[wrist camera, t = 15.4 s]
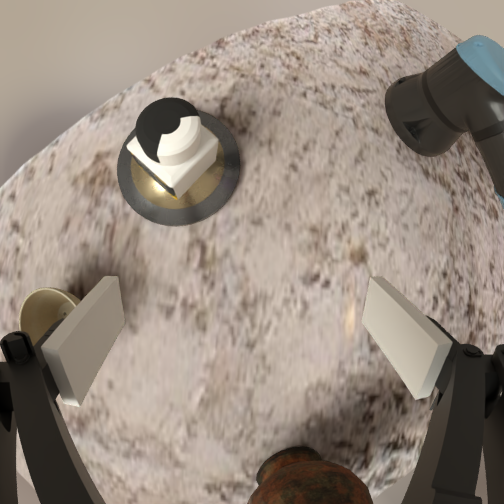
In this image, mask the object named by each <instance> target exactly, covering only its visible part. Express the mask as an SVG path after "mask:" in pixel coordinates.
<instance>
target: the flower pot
mask: <svg viewBox="0 0 504 504" xmlns="http://www.w3.org/2000/svg"><path fill="white" fill-rule="evenodd" d="M80 302H81V301H80V300H79V299H78V298H77V297H75V296H74V295H72V294H71V293H69V292H66V291H64V290H61V289H57V288H39V289H36V290H34V291H33V292H31V293H30V294H29V295H28V296H27V297H26V298H25V300H24V301H23V304H22V306H21V309H20V314H19V328H20V331H24V332H26V333H28V334H29V336H30V339H31V342H32V345H33V346H34V345H35V344H36V343H37V342H38V340H39V339H40V338H41V337H42V336H44V334H45V332H46V331H48V329H49V328H50V327H51V326H52V325H53V324H54V323H55V322H57V321H58V320H60V319H62V318H66V317H67V316H68V315H69V314H70V313H71V312H72V310H73V309H74V308H75V307H76V306H77V305H78V304H79V303H80ZM64 314H66V315H64Z"/></svg>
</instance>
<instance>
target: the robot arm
mask: <svg viewBox="0 0 504 504" xmlns="http://www.w3.org/2000/svg"><path fill="white" fill-rule="evenodd" d="M385 107H386V112H387V115H388V118H389V120H390V122H391V124H392V126H393V128H394V130H395V131H396V133H397V134H398V136H399V137H400V138H401V139H402V141H403V142H404V143H405V144H406V145H407V146H408V147H410V148H411V149H412V150H414V151H415V152H417V153H419V154H421V155H423V156H427V157H434V156H437V155H440V154H442V153H444V152H446V151H447V150H449V149H450V148H451V146H452V145H453V144H454V143H455V142H456V141H457V139H458V138H459V137H460V136H461V135H462V134H463V133H464V132H466V131H470V133H471V134H472V136H473V138H474V140H475V142H476V145H477V147H478V149H479V151H480V153H481V155H482V157H483V160H484V162H485V164H486V166H487V169H488V171H489V174H490V176H491V178H492V181H493V184H494V190H495V192H496V194H497V196H498V197H499V199H500V202H501V204H502V207H503V209H504V48H502V47H501V46H500V45H499V44H498V43H496V42H495V41H493V40H492V39H490V38H488V37H486V36H481V35H476V36H473V37H471V38H469V39H468V40H466V41H465V42H463V43H459V44H458V45H457V46H456V48H454V49H453V50H452V51H451V52H449V53H448V54H447V55H445V56H444V57H443V58H441V59H440V60H439V61H438V62H436V63H435V64H434V65H432V66H431V67H430V68H429V69H427V70H426V71H425V72H422V73H418V74H414V75H410V76H406V77H402V78H400V79H398V80H397V81H395V82H394V83H393V84H392V85H391V86H390V87H389V88H388V90H387V92H386V96H385ZM362 323H363V324H364V326H365V327H366V329H367V330H368V331H369V333H370V334H371V336H372V337H373V338H374V340H375V341H376V343H377V344H378V345H379V347H380V348H381V350H382V351H383V353H384V354H385V356H386V357H387V358H388V360H389V361H390V363H391V364H392V366H393V367H394V369H395V370H396V371H397V373H398V374H399V376H400V377H401V379H402V380H403V382H404V383H405V385H406V386H407V388H408V389H409V391H410V392H411V394H412V395H413V397H414V398H415V400H417V399H421V398H425V397H428V396H430V394H431V392H432V390H433V388H434V386H436V387H437V388H438V389H439V392H438V394H437V396H436V398H435V400H434V402H433V404H432V406H431V408H430V410H432V409H433V412H432V416H431V420H430V423H429V427H428V431H427V434H426V438H425V441H424V444H423V447H422V451H421V454H420V457H419V460H418V463H417V465H416V468H415V471H414V474H413V476H412V479H411V482H410V484H409V487H408V489H407V492H406V494H405V496H404V499H403V501H402V503H401V504H482V499H481V497H476V496H475V489H476V484H477V479H478V473H479V467H480V460H481V452H482V446H483V453H484V461H485V470H486V479H487V494H488V504H504V344H501V345H498V346H497V347H496V349H495V351H494V354H493V355H484V354H483V352H482V351H481V350H480V349H479V348H478V347H476V346H474V345H471V344H460V343H459V342H457V341H456V340H455V339H454V338H453V337H452V336H451V335H450V334H449V333H448V332H446V330H445V329H444V328H443V327H441V325H440V324H439V323H438V322H437V321H435V320H434V319H432V318H430V317H428V316H425V315H424V314H423V313H422V312H421V311H420V310H419V309H418V308H417V307H416V306H414V305H413V304H412V303H411V302H410V301H409V300H408V299H407V298H406V297H405V296H404V295H402V294H401V293H400V292H399V291H398V290H397V289H396V288H395V287H394V286H392V285H391V284H390V283H389V282H388V281H387V280H386V279H385V278H383V277H382V276H381V277H370V280H369V286H368V292H367V297H366V302H365V307H364V312H363V317H362ZM124 325H125V317H124V312H123V306H122V300H121V293H120V287H119V280H118V276H104V277H103V278H102V279H101V281H100V282H99V283H98V284H97V285H96V286H95V287H94V288H93V289H92V290H91V291H90V292H89V293H88V294H87V295H86V296H85V297H84V298H83V300H82V301H81V302H80V303H79V304H78V305H77V306H76V307H75V308H74V309H73V310H72V312H71V313H70V314H69V315H68V316H67V317H66V318H62V319H60V320H58V321H57V322H55V323H54V324H53V325H52V326H51V327H50V328H49V329H48V331H46V332H45V334H44V336H42V337H41V338H40V339H39V340H38V342H37V343H36V344H35V345H34V346H33V345H32V342H31V339H30V336H29V334H28V333H26V332H24V331H15V332H12V333H9V334H7V335H6V336H4V337H3V338H2V340H1V341H0V346H1V349H2V351H3V354H4V356H5V359H6V361H7V362H0V504H18V497H17V481H16V434H17V428H18V433H19V437H20V441H21V445H22V449H23V453H24V456H25V460H26V463H27V466H28V470H29V473H30V476H31V479H32V482H33V485H34V487H35V490H36V493H37V496H38V498H39V501H40V503H41V504H106V503H105V502H104V500H103V498H102V497H101V495H100V493H99V492H98V490H97V488H96V486H95V484H94V483H93V481H92V479H91V477H90V475H89V473H88V472H87V470H86V468H85V466H84V464H83V462H82V460H81V458H80V456H79V453H78V451H77V449H76V447H75V445H74V443H73V440H72V438H71V436H70V434H69V431H68V429H67V426H66V424H65V421H64V419H63V416H62V414H61V411H60V409H59V406H58V404H57V402H56V400H55V399H56V398H57V396H58V394H59V393H60V396H61V398H62V400H63V402H64V404H68V405H73V406H77V407H80V406H81V404H82V402H83V400H84V398H85V396H86V394H87V392H88V390H89V388H90V387H91V385H92V383H93V381H94V379H95V377H96V375H97V373H98V371H99V369H100V368H101V366H102V364H103V362H104V360H105V358H106V357H107V355H108V353H109V351H110V349H111V347H112V346H113V344H114V342H115V340H116V339H117V337H118V335H119V333H120V332H121V330H122V328H123V326H124ZM501 392H502V395H501V396H500V394H501Z"/></svg>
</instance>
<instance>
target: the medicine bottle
mask: <svg viewBox="0 0 504 504" xmlns="http://www.w3.org/2000/svg"><path fill="white" fill-rule="evenodd" d="M135 133H136V136H135V137H134V138H133V139H132V140H131V141H130V142H129V143H128V145H127V149H128V150H129V152H130V153H131V155H132V156H133V158H134V159H135V161H136V162H137V164H138V165H139V167H141V168H142V169H143V170H144V171H145V172H146V173H147V174H148V175H149V176H150V177H152V178H153V179H154V180H155V181H156V182H157V183H158V184H159V185H160V186H161V187H163V188H164V189H165V190H166V191H167V192H168V193H169V194H170V195H171V196H172V197H174V198H175V199H176V200H177V199H179V198H180V197H181V196H182V195H183V194H184V193H185V192H186V191H187V190H188V189H189V188H190V187H191V186H192V184H193V183H194V182H195V181H196V180H197V179H198V178H199V177H200V176H201V175H202V174H203V173H204V172H205V171H206V170H207V169H208V168H209V167H210V166H211V165H212V164H213V163H214V162H215V161H216V155H217V149H218V142H219V140H218V138H217V137H216V136H214V135H213V134H212V133H211V132H210V131H208V130H207V129H206V128H205V127H204V126H202V125H201V121H200V116H199V113H198V112H197V110H196V109H195V107H194V106H193V105H192V104H190V103H189V102H187V101H185V100H183V99H180V98H163V99H160V100H157V101H155V102H153V103H151V104H150V105H148V106H147V107H146V108H145V109H144V110H143V111H142V112H141V114H140V115H139V117H138V119H137V122H136V127H135Z"/></svg>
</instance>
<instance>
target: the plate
mask: <svg viewBox="0 0 504 504" xmlns="http://www.w3.org/2000/svg"><path fill="white" fill-rule="evenodd" d="M197 112H198V113H199V116H200V121H201V125H202V126H204V127H205V128H206V129H207V130H208V131H210V132H211V133H212V134H213V135H214V136H216V137H217V138H218V140H219V142H218V149H217V155H216V161H215V162H214V163H213V164H212V165H211V166H210V167H209V168H208V169H207V170H206V171H205V172H204V173H203V174H202V175H201V176H200V177H199V178H198V179H197V180H196V181H195V182H194V183H193V184H192V186H191V187H190V188H189V189H188V190H187V191H186V192H185V193H184V194H183V195H182V196H181V197H180V198H179V199H177V200H176V199H175V198H174V197H172V196H171V195H170V194H169V193H168V192H167V191H166V190H165V189H164V188H163V187H161V186H160V185H159V184H158V183H157V182H156V181H155V180H154V179H153V178H152V177H150V176H149V175H148V174H147V173H146V172H145V171H144V170H143V169H142V168H141V167H139V165H138V164H137V162H136V161H135V159H134V158H133V156H132V155H131V153H130V152H129V150H128V149H127V145H128V143H129V142H130V141H131V140H132V139H133V138H134V137H135V136H136V133H135V129H134V130H133V131H132V132H131V133H130V135H129V136H128V137H127V139H126V141H125V142H124V144H123V146H122V149H121V151H120V155H119V158H118V164H117V176H118V183H119V186H120V189H121V192H122V194H123V196H124V198H125V199H126V201H127V203H128V204H129V205H130V206H131V207H132V208H133V209H134V210H135V211H136V212H137V213H138V214H140V215H141V216H143V217H144V218H146V219H148V220H150V221H152V222H154V223H157V224H160V225H165V226H186V225H191V224H194V223H197V222H200V221H202V220H204V219H206V218H208V217H210V216H211V215H213V214H214V213H216V212H217V211H218V210H219V209H220V208H221V207H222V206H223V205H224V204H225V203H226V202H227V200H228V199H229V197H230V196H231V194H232V192H233V190H234V188H235V186H236V183H237V180H238V176H239V171H240V156H239V151H238V147H237V145H236V142H235V140H234V138H233V136H232V134H231V133H230V132H229V130H228V129H227V128H226V127H225V126H224V125H223V124H222V123H221V122H220V121H219V120H217V119H216V118H214V117H213V116H211V115H209V114H207V113H204V112H201V111H198V110H197Z"/></svg>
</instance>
